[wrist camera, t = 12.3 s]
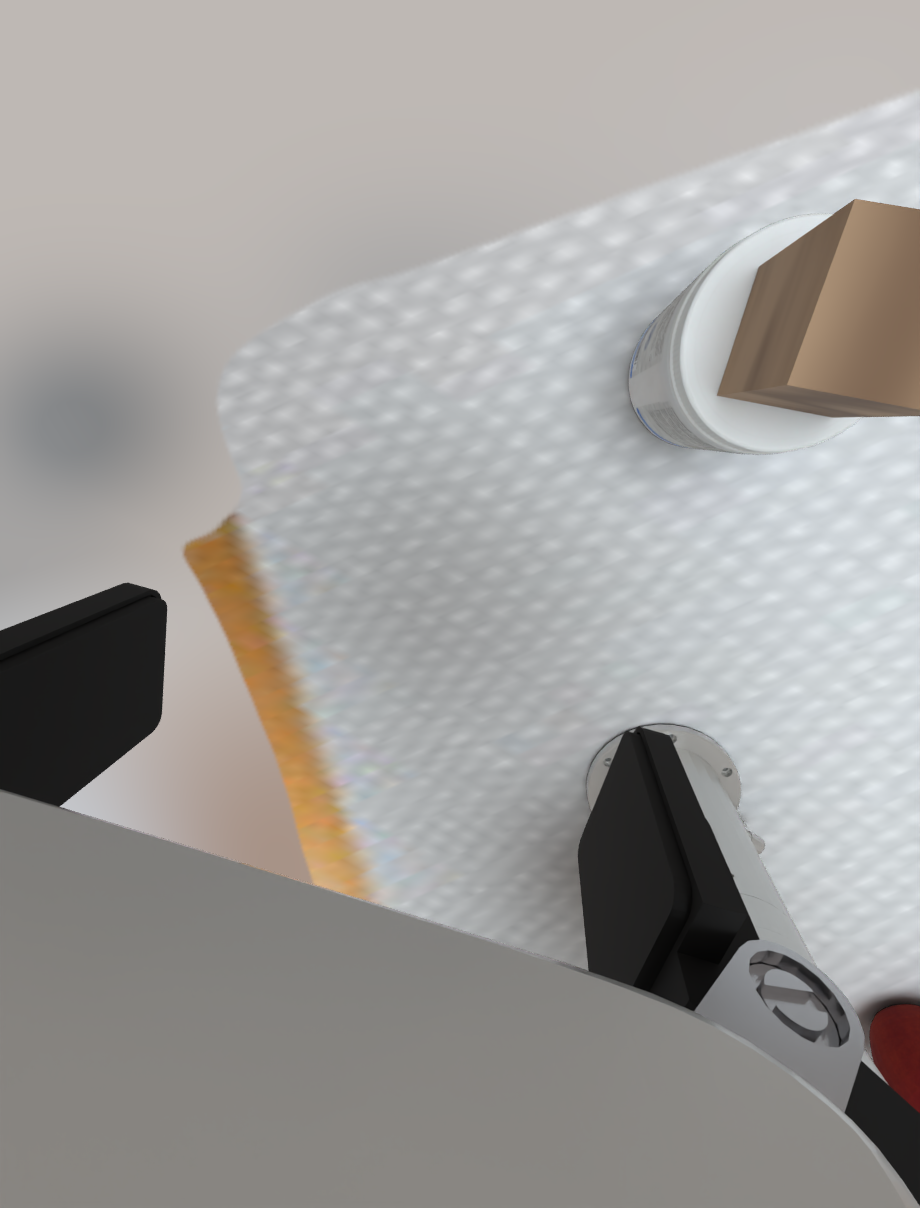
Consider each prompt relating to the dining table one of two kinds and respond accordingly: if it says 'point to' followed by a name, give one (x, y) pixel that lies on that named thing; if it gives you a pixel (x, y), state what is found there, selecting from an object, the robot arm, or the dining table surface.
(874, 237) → the walnut block
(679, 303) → the supplement tub
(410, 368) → the dining table surface
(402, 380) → the dining table surface
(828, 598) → the dining table surface
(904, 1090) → the apple
